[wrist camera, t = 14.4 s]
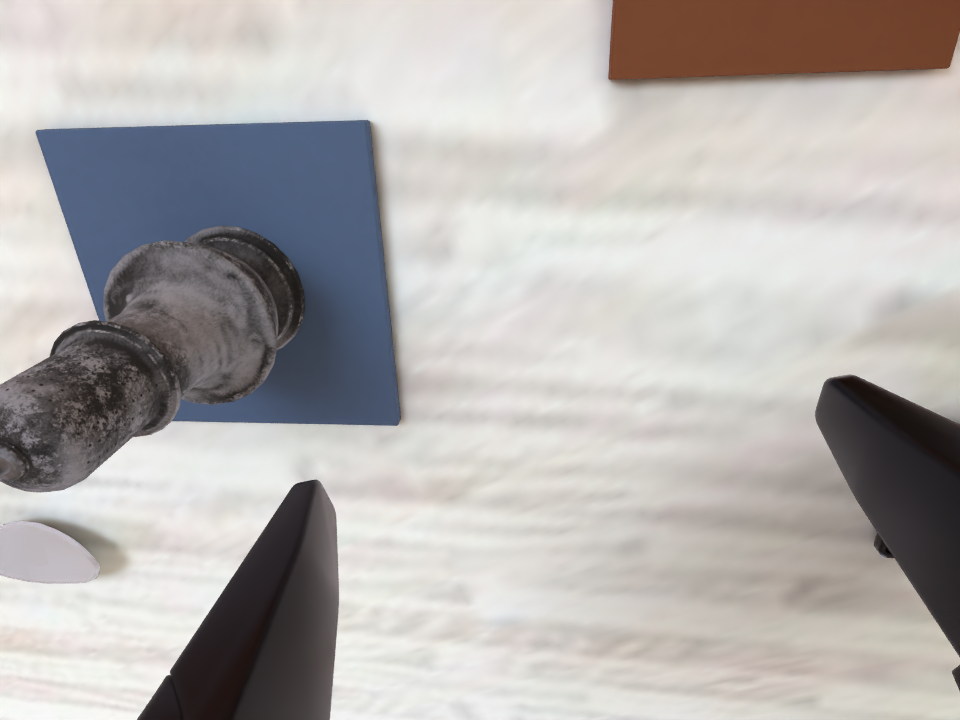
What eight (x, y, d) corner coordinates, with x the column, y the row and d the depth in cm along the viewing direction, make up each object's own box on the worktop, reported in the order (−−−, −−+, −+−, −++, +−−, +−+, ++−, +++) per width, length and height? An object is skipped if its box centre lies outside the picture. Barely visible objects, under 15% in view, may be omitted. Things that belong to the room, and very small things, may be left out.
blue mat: (401, 418, 25) (398, 426, 24) (140, 413, 26) (132, 420, 26) (370, 119, 20) (365, 121, 19) (46, 129, 21) (33, 130, 20)
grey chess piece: (337, 339, 23) (163, 567, 12) (213, 377, 24) (-44, 613, 13) (268, 195, 21) (-21, 318, 10) (135, 245, 22) (-250, 403, 11)
